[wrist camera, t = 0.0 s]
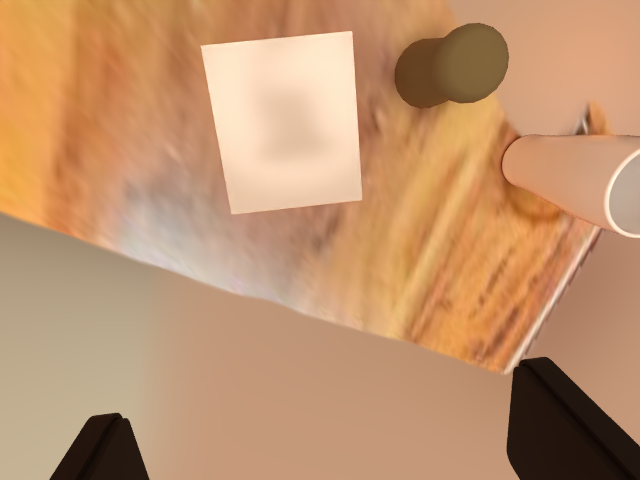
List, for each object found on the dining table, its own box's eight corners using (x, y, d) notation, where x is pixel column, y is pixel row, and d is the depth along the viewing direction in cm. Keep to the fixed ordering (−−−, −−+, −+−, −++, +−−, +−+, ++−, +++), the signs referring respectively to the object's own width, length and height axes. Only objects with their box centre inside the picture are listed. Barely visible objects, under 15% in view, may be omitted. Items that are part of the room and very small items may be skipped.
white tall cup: (484, 189, 40) (589, 234, 26) (503, 122, 38) (628, 132, 24) (544, 196, 41) (677, 244, 27) (565, 131, 39) (722, 146, 25)
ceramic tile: (204, 47, 34) (200, 45, 33) (349, 33, 35) (352, 30, 33) (233, 210, 39) (231, 214, 38) (359, 196, 40) (362, 200, 38)
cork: (469, 56, 36) (541, 37, 26) (437, 118, 38) (493, 124, 27) (413, 26, 35) (465, -7, 24) (383, 91, 36) (420, 86, 26)
